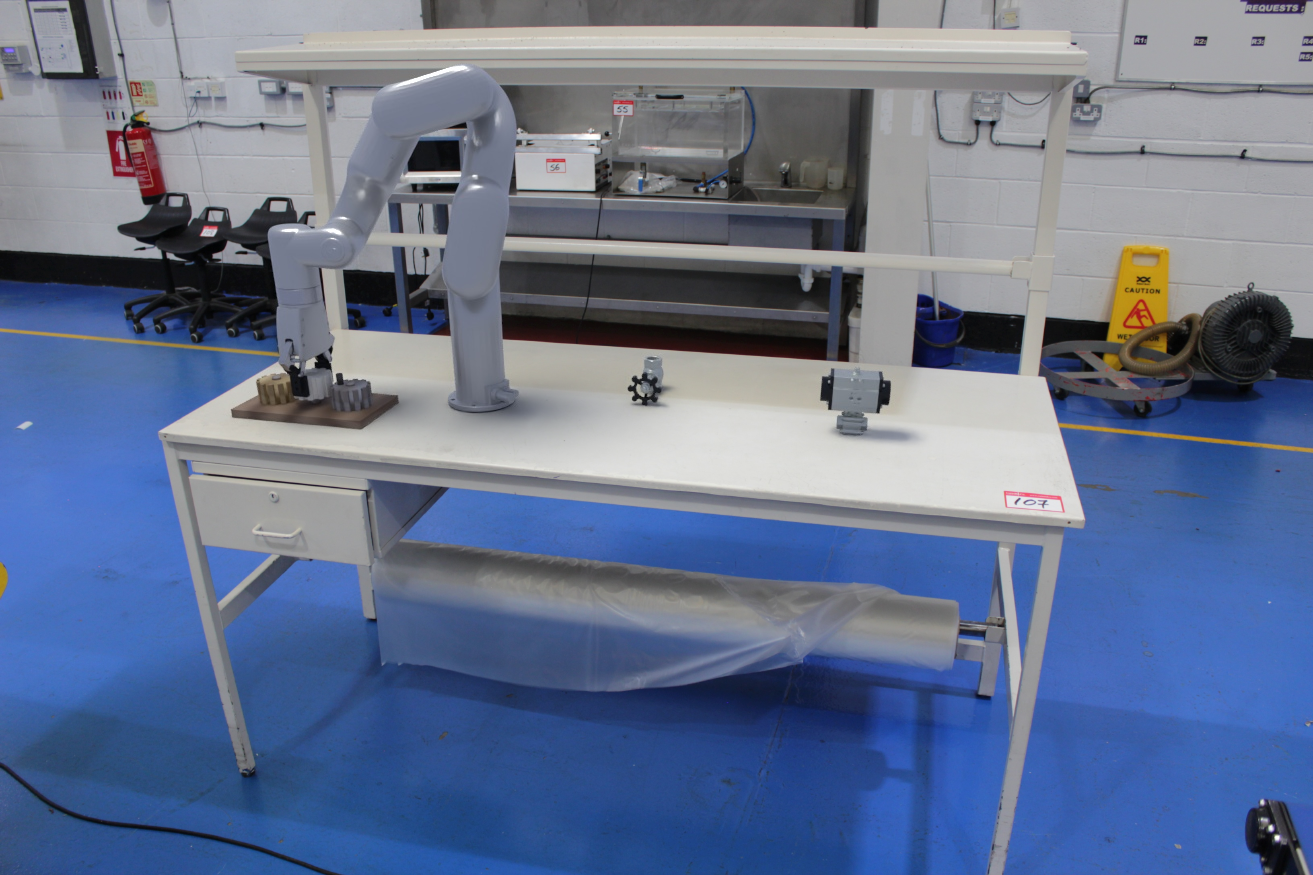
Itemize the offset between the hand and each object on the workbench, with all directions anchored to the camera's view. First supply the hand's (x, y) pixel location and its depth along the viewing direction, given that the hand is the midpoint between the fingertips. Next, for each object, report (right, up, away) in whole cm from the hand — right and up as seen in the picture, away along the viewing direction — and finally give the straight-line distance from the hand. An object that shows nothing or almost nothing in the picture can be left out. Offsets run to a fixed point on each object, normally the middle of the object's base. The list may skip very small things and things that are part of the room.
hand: (313, 388), depth 163 cm
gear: (0, -1, 0) cm, 1 cm away
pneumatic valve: (+98, -8, -8) cm, 99 cm away
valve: (+63, -1, +10) cm, 63 cm away
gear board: (0, -4, +2) cm, 4 cm away
